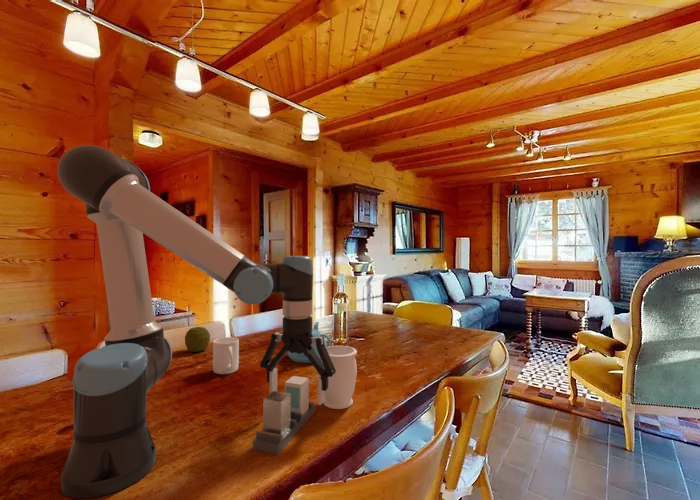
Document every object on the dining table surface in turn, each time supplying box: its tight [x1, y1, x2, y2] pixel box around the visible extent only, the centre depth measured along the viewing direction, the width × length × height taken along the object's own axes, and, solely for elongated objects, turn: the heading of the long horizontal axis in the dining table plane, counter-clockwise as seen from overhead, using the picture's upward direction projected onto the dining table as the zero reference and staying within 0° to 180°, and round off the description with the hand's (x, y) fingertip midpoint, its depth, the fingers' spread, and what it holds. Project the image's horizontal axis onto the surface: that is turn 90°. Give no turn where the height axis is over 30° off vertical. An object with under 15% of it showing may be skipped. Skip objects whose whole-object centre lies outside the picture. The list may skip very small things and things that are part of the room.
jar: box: [321, 345, 358, 410], centre depth 97 cm, size 11×10×15 cm
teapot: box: [279, 321, 331, 364], centre depth 137 cm, size 17×19×12 cm
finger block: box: [284, 375, 310, 415], centre depth 88 cm, size 5×4×8 cm
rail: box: [252, 390, 316, 456], centre depth 83 cm, size 20×6×10 cm, turn 162°
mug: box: [212, 336, 240, 375], centre depth 120 cm, size 9×12×11 cm
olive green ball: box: [184, 325, 211, 353], centre depth 144 cm, size 10×10×11 cm
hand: (296, 398), depth 88 cm, fingers open, 13 cm apart
